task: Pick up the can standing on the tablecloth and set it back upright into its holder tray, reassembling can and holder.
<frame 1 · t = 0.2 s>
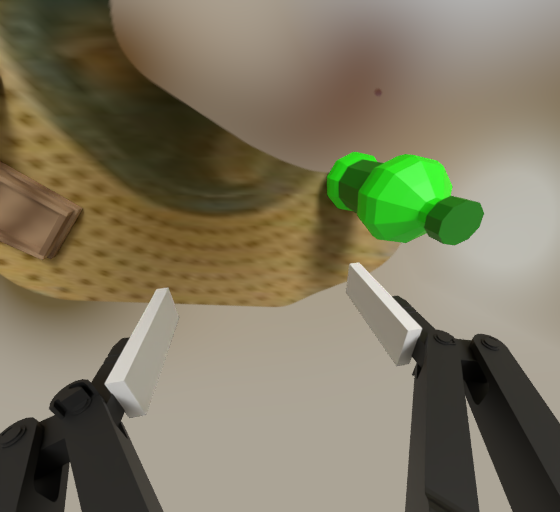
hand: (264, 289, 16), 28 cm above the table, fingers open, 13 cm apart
plastic bottle: (344, 179, 42), on the table
holder: (28, 212, 36), on the table
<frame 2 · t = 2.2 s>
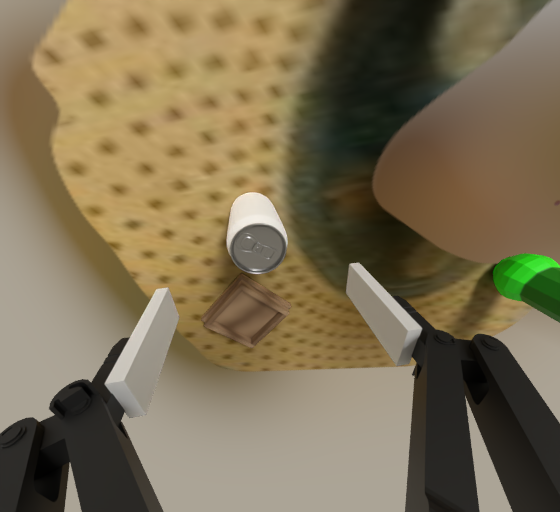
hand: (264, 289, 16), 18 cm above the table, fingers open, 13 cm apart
plastic bottle: (503, 266, 46), on the table
can: (252, 213, 32), on the table
holder: (247, 309, 40), on the table
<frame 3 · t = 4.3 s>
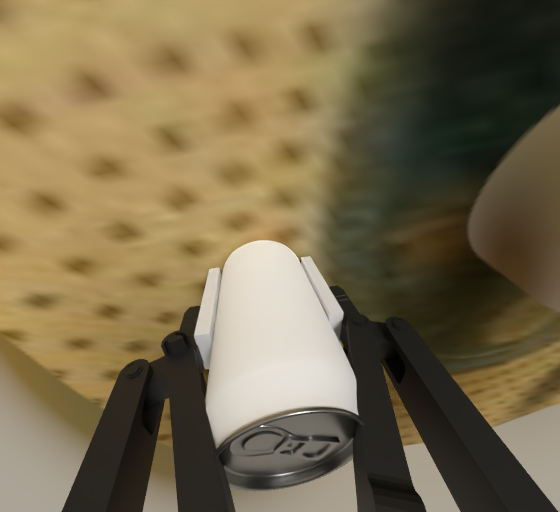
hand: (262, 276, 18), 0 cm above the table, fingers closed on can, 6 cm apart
can: (262, 272, 18), on the table, touching gripper
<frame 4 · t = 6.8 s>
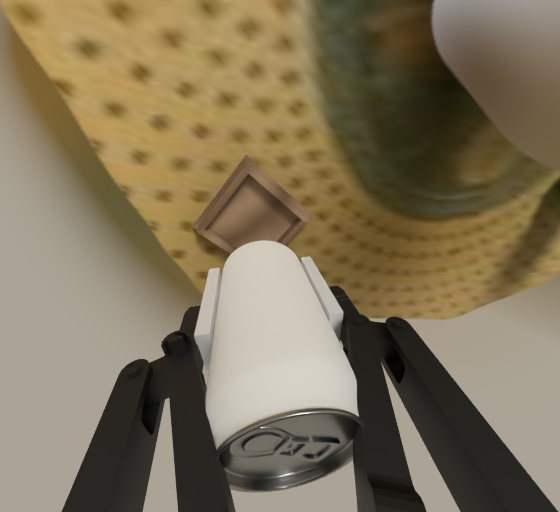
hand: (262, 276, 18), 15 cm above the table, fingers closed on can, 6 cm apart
can: (262, 272, 18), point 14 cm above the table, touching gripper
holder: (253, 218, 31), on the table
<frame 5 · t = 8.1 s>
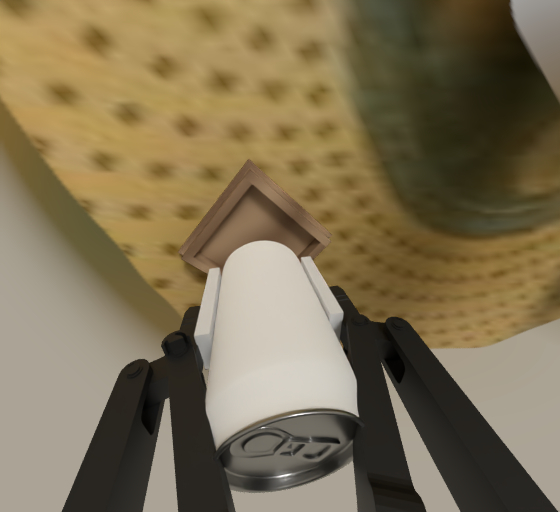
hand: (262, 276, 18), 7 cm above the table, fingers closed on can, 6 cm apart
can: (262, 272, 18), point 7 cm above the table, touching gripper
holder: (257, 239, 24), on the table
when the fingers open (3 cm above the table, at t = 9.2 s): can drops 2 cm, resting on holder.
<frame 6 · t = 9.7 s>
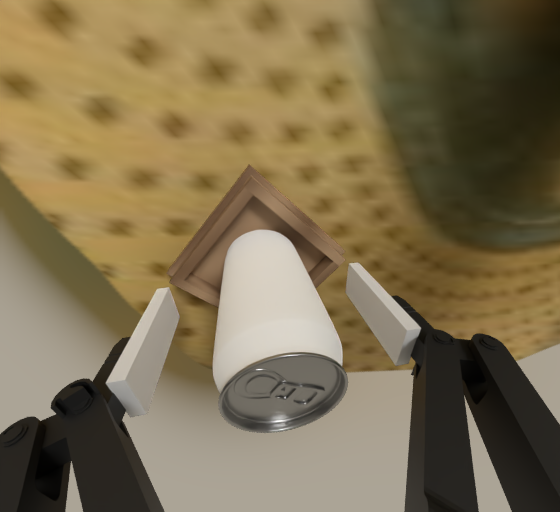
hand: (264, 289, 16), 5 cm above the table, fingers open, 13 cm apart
can: (261, 259, 20), point 1 cm above the table, touching holder
holder: (259, 256, 21), on the table
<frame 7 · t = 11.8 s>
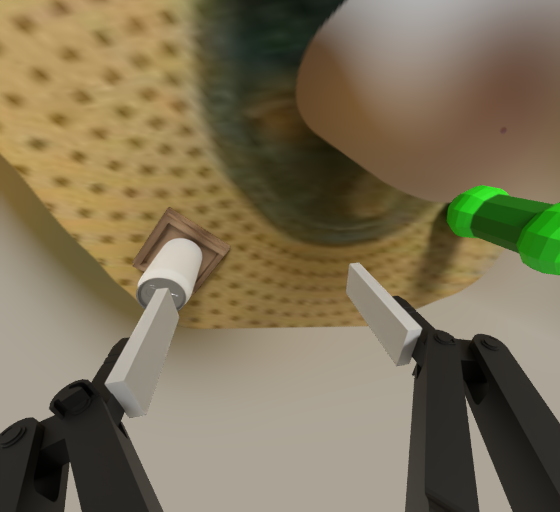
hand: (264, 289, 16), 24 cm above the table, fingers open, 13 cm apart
plastic bottle: (458, 207, 44), on the table
can: (183, 254, 38), point 1 cm above the table, touching holder
holder: (183, 252, 38), on the table
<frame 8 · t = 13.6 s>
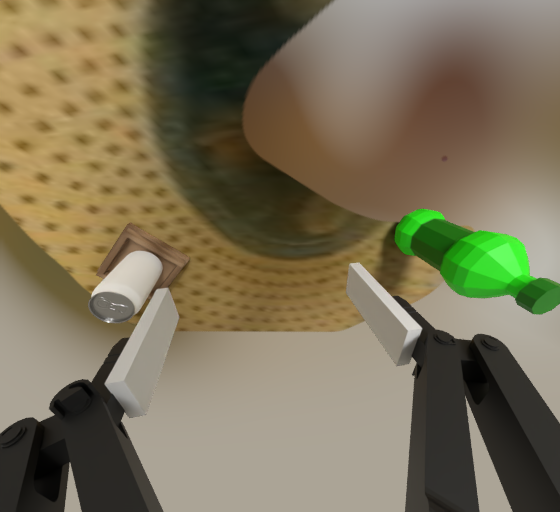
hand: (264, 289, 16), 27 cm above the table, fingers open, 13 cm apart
plastic bottle: (406, 226, 48), on the table
can: (145, 264, 41), point 1 cm above the table, touching holder
holder: (146, 262, 42), on the table
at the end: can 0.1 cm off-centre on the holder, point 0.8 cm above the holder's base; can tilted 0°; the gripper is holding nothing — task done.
